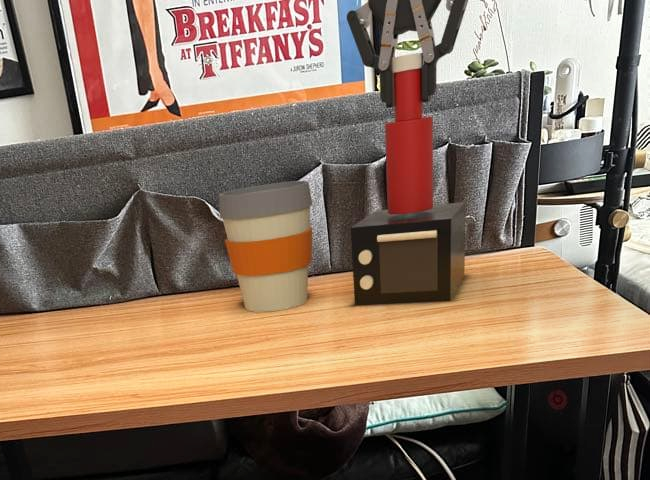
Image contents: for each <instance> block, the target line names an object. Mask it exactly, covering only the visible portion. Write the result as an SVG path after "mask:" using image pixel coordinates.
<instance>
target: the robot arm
mask: <svg viewBox="0 0 650 480" xmlns="http://www.w3.org/2000/svg"><path fill="white" fill-rule="evenodd" d="M445 1H446V3H445V8H446V10H447V11H448V12H449V14H448V18H447V21H446V24H445V27H444V31H443V34H442V37H441V41H440V43H438V44H436V42H435V33H434V28H433V24H432V19H433V17H434V16H435V13H436V11H437V10H438V8H439V6H440V4H441V3H442V0H367V2H366V3H364V4H362V5H361V6H360V7H358V8H356V9H355V10H354V9H351V10H349V11H348V12H347V14H346V21H347V24H348V26H349V29H350V32H351V34H352V37H353V40H354V43H355V45H356V48H357V51H358V53H359V56H360V58H361V61H362V64H363V65H364V66H365V67H368V68H371V69H375V70H377V72H378V74H379V95H380V96H379V98H380V101H381V103H382V104H383V103H385V107H386V109H390V108H395V100H394V73H392V58H394V57H395V55H396V49H397V46H398V41H399V36H400V35H403V34H405V33H408V32H416V33H417V38H418V42H419V44H420V49H421V53H423V58H424V65H422V103H429V102H431V101H432V96H435V95H436V92H437V65H438V61H439V60H440V59H441V58H443V57H444V56H447V55H448V54H451V53H452V52H453V50H454V47H455V44H456V40H457V38H458V35H459V31H460V29H461V28H460V27H461V25H462V22H463V19H464V16H465V12H466V10H467V6H468V2H469V0H445ZM371 14H373V16H374V17H375V18H376V20H377V21H378V22H379V24H380V25H381V26H382V33H381V39H380V52H379V55H377V54H376V51H375V48H374V46H373V43H372V40H371V36H370V35H369V32H368V28H369V27H370V25H371V19H370V16H371Z"/></svg>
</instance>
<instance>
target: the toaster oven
mask: <svg viewBox="0 0 650 480" xmlns="http://www.w3.org/2000/svg"><path fill="white" fill-rule="evenodd" d="M466 203H467V202H466V201H461V202H460V201H459V202H451V203H441V204H433V208H432V209H430V210H426V211H422V212H416V213H408V214H389V213H388V209H380V210H375V211H373V212H372V213H370V214H369V215H367V216H365V217H364V218H363V219H362V220H360V221H358V222H357V223H355V224H354V225H353V226H351V227H350V240H351V241H350V243H351V244H350V245H351V259H352V260H351V261H352V276H353V280H352V281H353V295H354V298H353V299H354V307H357V306H376V305H378V306H379V305H396V304H398V305H399V304H417V303H439V302H440V303H441V302H451V301H452V299H453V298H454V296H455V294H456V292H457V290H458V289H459V286H460V285H461V283H462V281H463V279H464V278H465V266H466V265H465V263H466V261H465V260H466V259H465V257H466V211H467V210H466V207H467V206H466V205H467V204H466Z"/></svg>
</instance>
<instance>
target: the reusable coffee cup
mask: <svg viewBox="0 0 650 480" xmlns="http://www.w3.org/2000/svg"><path fill="white" fill-rule="evenodd" d="M218 206H219V218H220V219H221V220H222V222H223V226H224V230H225V234H226V238H225V240H224V242H225V246H226V250H227V254H228V257H229V258H228V259H229V262H230V265H231V270H232V273H233V274H234V275H236V277H237V281H238V285H239V289H240V292H241V293H240V294H241V297H242V301H243V305H244V308H245V310H247V311H248V312H249V311H250V312H255V313H256V312H257V313H267V312H276V311H277V312H278V311H284V310H288V309H292V308H296V307H299V306H301V305H304V304H306V303H307V301H308V290H309V289H308V283H309V265H310V264H311V263H312V256H313V255H312V254H313V253H312V252H313V251H312V250H313V227H312V226H311V225H310V222H311V206H313V199H312V193H311V187H310V183H309V180H293V181H292V180H291V181H282V182H274V183H267V184H260V185H253V186H248V187H247V186H246V187H242V188H236V189H233V190H228V191H225V192H222V193H219V194H218Z"/></svg>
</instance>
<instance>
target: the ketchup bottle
mask: <svg viewBox="0 0 650 480" xmlns="http://www.w3.org/2000/svg"><path fill="white" fill-rule="evenodd" d="M422 65H424V58H423V53H422V52H416V53H410V54H404V55H399V56H394V58H392V73H394V100H395V107H394V121H392V122H391V121H390V122H386V123H385V124H384V133H385V134H384V135H385V137H384V140H385V165H386V166H385V170H386V197H387V198H386V201H387V210H388V213H389V214H408V213H416V212H422V211H426V210H430V209H432V208H433V205H434V120H433V119H434V117H433V116H425V117H423V102H422Z"/></svg>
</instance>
